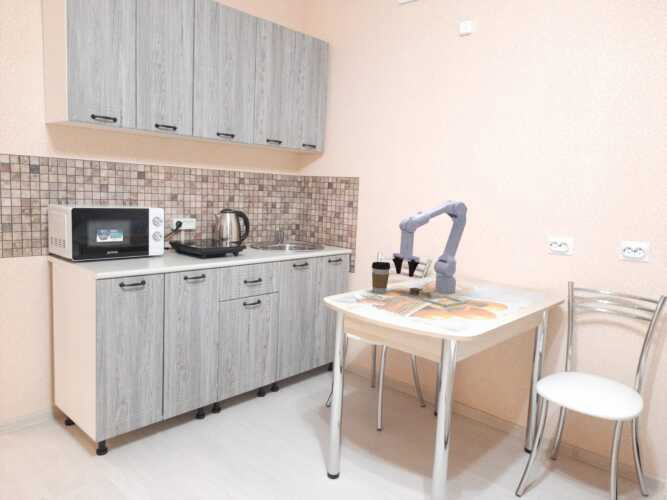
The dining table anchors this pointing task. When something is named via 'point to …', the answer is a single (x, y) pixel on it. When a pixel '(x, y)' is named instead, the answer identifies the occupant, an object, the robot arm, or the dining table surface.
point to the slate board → (419, 296)
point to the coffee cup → (380, 276)
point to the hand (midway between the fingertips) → (404, 275)
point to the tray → (446, 304)
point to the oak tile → (425, 293)
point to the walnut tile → (415, 291)
